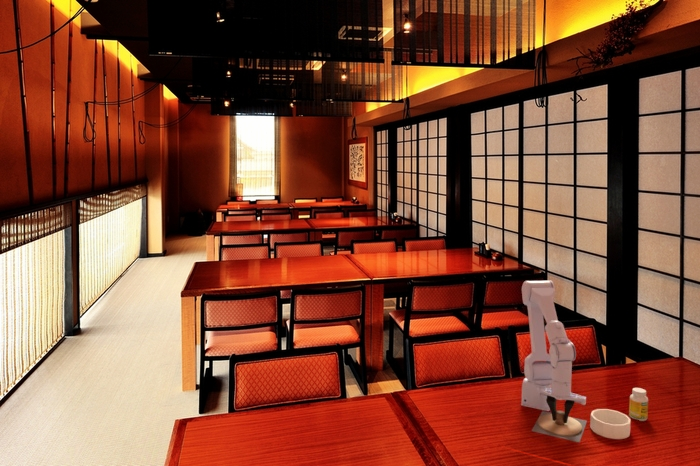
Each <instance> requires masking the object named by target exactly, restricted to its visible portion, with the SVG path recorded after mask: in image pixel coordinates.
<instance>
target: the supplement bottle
mask: <svg viewBox="0 0 700 466" xmlns="http://www.w3.org/2000/svg"><path fill="white" fill-rule="evenodd" d="M631 393H632V394H630V396H629V407H628V408H629V409H628V417H629V418H632V419H633V420H637V421H638V420H639V422H645V421H647V419H648V411H649V409H648V408H649V398H648V396H647V390H646V389H643V388H641V387H633V388H632V392H631Z"/></svg>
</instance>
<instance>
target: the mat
mask: <svg viewBox="0 0 700 466" xmlns="http://www.w3.org/2000/svg"><path fill="white" fill-rule="evenodd" d="M547 414H551V412H549V411H545V410H541V413H540V414H539V417H538V418H537V420H536V422H535V423H534V425H533V427H532V429H531V432H534V433H538V434H542V435H545V436H546V435H547V436H550V437H555V438H557V439H564V440H567V441H570V442H574V443H575V442H576V443H579V444H580V443H581V439H582V436H583V434H584V432H585V428H586V426H587V422H588V420H586V419H580V418H576V417H571V416H570V417H571V418H573V419H575V420H577V421H578V422H580V423H581V425H582V431H581V433H579V434H577V435H573V436H562V435H556V434H553V433H550V432H547V431H545V430H544V429H542V428H541V427H540V426H539V424H538V420H539V418H540V417H541V416H543V415H547Z"/></svg>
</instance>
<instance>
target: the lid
mask: <svg viewBox="0 0 700 466" xmlns="http://www.w3.org/2000/svg"><path fill="white" fill-rule="evenodd" d="M564 416H565V411H563V410H556V415H555V421H553V418H552V414H547V415H543V416H541V417H540V418H539V417H538V418H539V420H538V419H537V420H538V424H539V426H540V427H541V428H542V429H544V430H545V431H547V432H550V433H553V434H556V435H562V436H573V435H577V434H579V433H581V431H582V425H581V423H580V422H578V421H577V420H575V419H573V418H574V417H572V418H571V416H568V420H567V423H564Z"/></svg>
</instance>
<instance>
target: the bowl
mask: <svg viewBox="0 0 700 466" xmlns="http://www.w3.org/2000/svg"><path fill="white" fill-rule="evenodd" d="M589 421H590V423H589V426H590V429H591V430H592V432H593V433H595V434H596V435H599V436H600V437H603V438H607V439H612V440H623V439H627V438H629V437H630V435H631V422H632V421H631V417H630V416H629V415H627V414H625V413H623V412H621V411H618V410H614V409H608V408H596V409H594V410H591V413H590V420H589Z"/></svg>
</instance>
